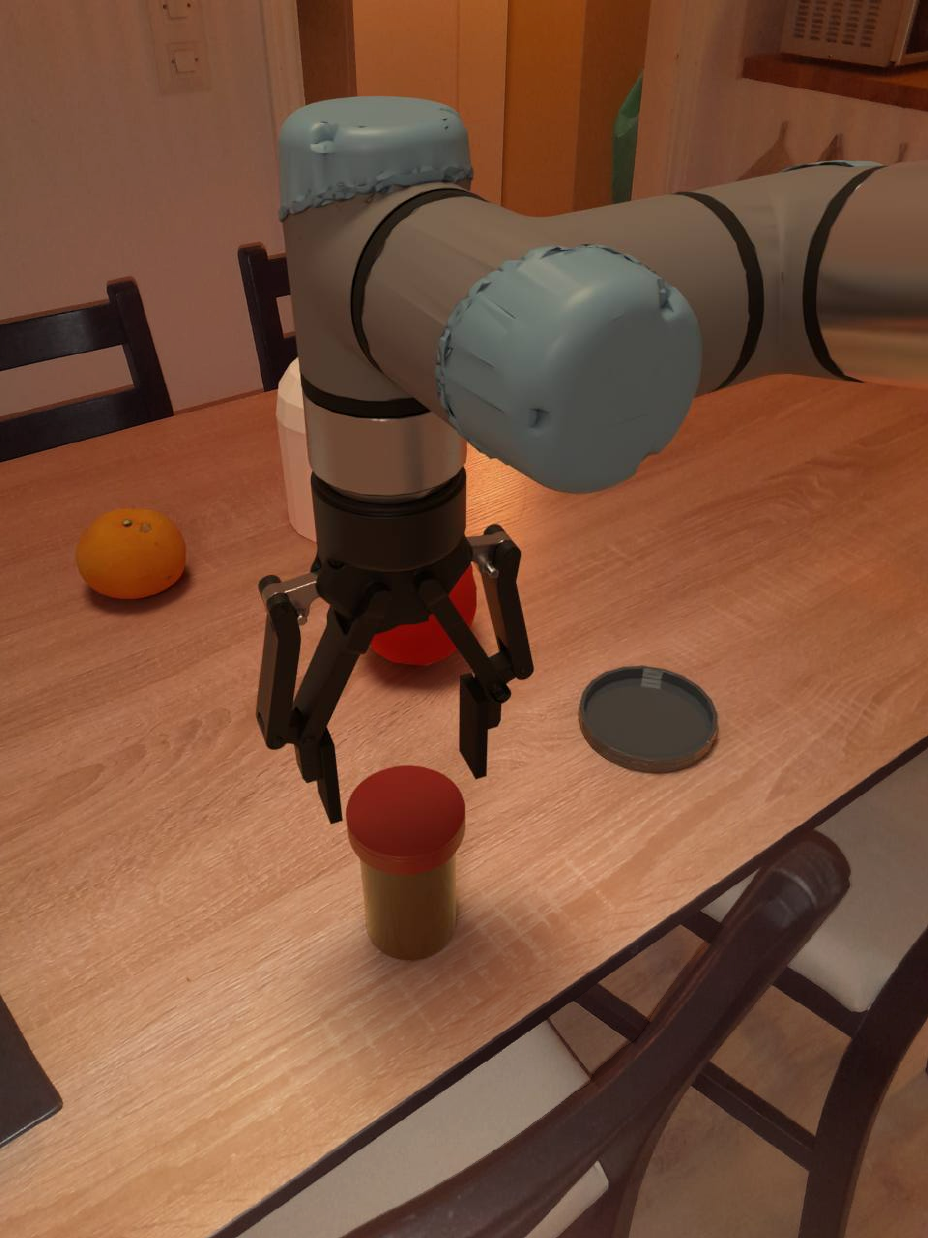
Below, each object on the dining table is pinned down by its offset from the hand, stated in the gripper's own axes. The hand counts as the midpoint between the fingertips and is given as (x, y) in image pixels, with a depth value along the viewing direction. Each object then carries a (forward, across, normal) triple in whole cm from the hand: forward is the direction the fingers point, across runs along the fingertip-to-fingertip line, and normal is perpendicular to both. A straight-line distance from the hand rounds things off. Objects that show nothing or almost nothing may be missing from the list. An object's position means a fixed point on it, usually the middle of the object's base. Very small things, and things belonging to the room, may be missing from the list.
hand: (403, 784), depth 60 cm
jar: (+14, 0, 0) cm, 14 cm away
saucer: (+14, -26, -11) cm, 31 cm away
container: (+15, -12, -54) cm, 57 cm away
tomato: (+15, -11, -28) cm, 33 cm away
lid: (+3, 0, 0) cm, 3 cm away
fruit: (+15, +12, -49) cm, 52 cm away
